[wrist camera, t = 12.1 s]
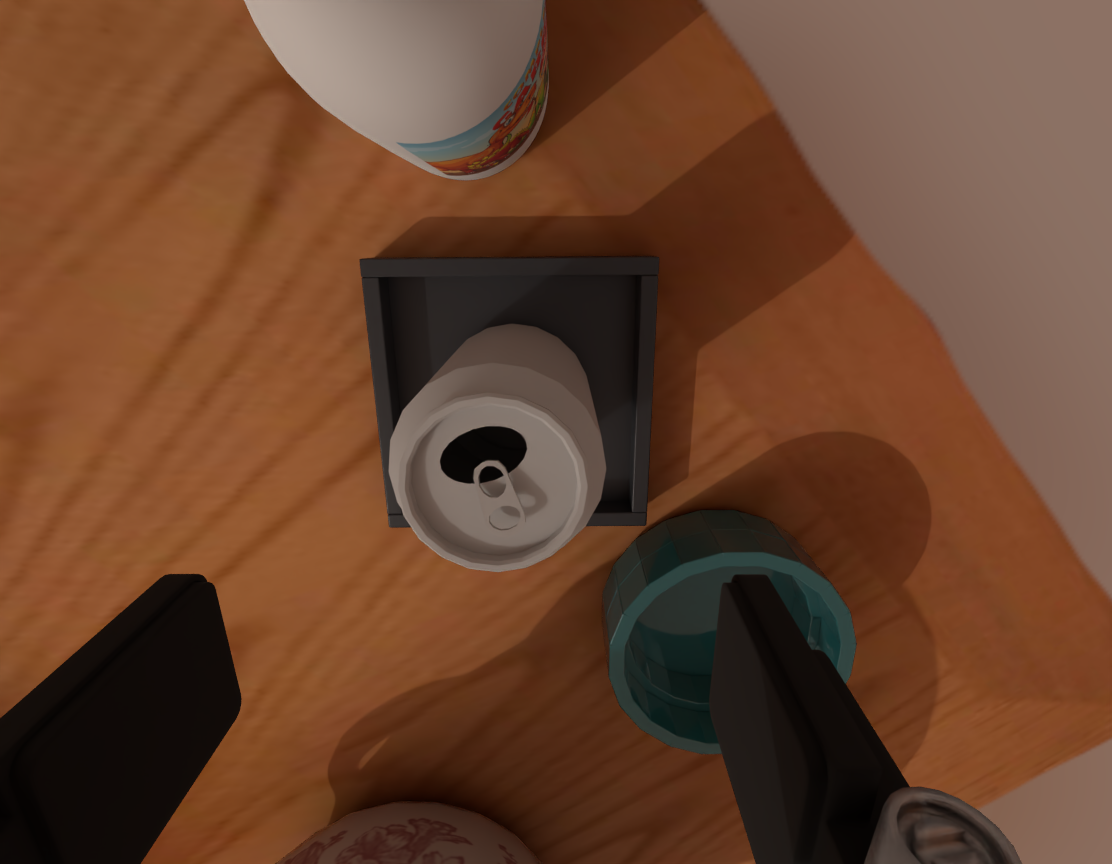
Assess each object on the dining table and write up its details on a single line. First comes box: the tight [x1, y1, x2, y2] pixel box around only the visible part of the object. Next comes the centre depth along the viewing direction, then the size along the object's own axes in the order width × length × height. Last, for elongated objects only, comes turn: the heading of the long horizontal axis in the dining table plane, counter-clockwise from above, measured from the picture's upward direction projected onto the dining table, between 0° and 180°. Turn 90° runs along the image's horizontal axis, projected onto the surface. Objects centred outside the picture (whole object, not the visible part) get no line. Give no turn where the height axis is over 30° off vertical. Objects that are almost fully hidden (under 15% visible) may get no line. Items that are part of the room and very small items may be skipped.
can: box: [389, 324, 606, 572], centre depth 24 cm, size 8×8×12 cm
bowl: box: [602, 510, 857, 754], centre depth 32 cm, size 13×13×5 cm
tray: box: [360, 256, 659, 527], centre depth 29 cm, size 14×14×2 cm
